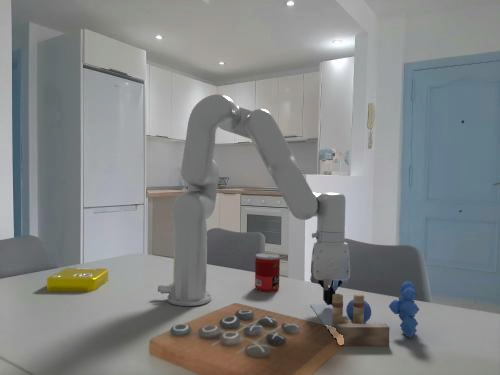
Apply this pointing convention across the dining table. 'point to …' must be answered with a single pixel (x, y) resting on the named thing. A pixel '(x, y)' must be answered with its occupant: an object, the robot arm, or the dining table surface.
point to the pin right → (358, 309)
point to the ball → (366, 311)
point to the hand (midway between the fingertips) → (329, 303)
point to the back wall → (364, 334)
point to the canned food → (267, 272)
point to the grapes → (406, 308)
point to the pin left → (337, 310)
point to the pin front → (346, 321)
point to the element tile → (77, 280)
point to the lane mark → (326, 313)
